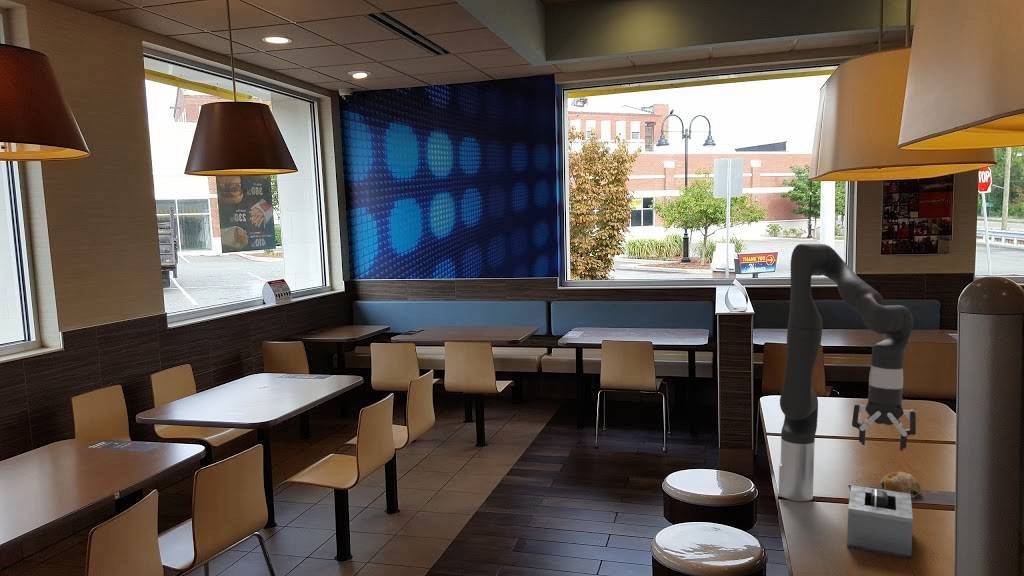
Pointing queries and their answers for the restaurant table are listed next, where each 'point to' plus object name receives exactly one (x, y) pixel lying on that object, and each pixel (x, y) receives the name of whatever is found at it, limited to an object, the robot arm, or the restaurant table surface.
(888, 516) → the box
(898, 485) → the bread roll
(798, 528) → the restaurant table surface
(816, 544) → the restaurant table surface
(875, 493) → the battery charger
